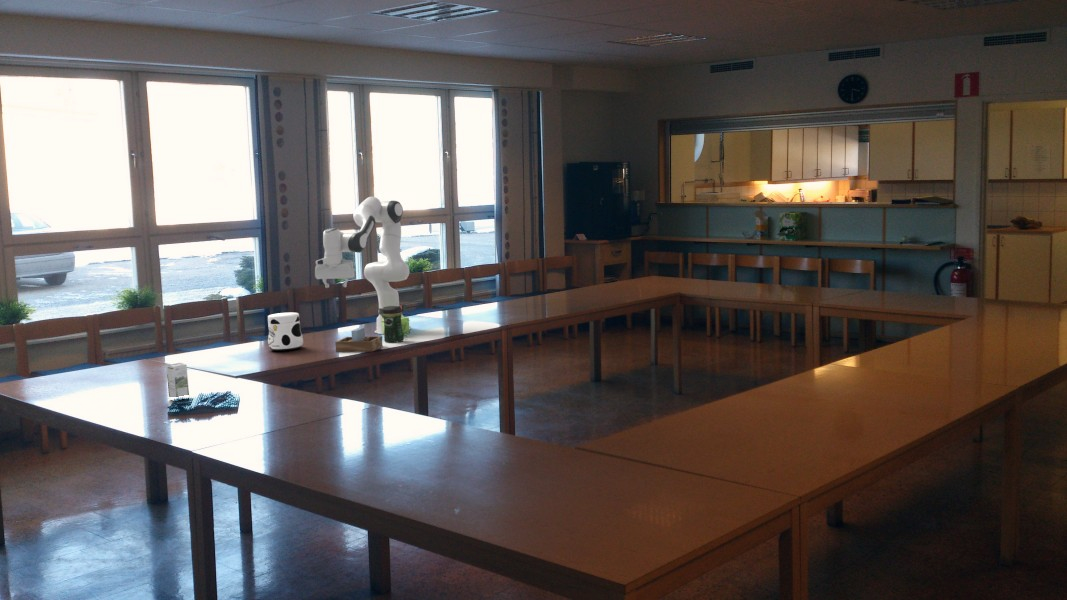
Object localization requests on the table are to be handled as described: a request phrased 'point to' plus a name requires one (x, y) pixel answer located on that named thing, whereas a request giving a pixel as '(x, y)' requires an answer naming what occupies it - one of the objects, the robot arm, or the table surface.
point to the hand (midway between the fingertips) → (336, 287)
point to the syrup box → (177, 380)
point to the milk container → (284, 332)
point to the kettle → (404, 325)
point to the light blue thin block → (358, 334)
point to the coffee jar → (392, 324)
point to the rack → (359, 344)
